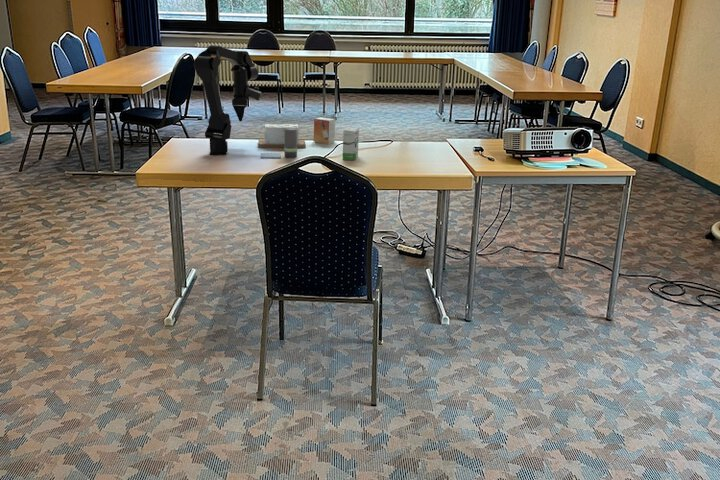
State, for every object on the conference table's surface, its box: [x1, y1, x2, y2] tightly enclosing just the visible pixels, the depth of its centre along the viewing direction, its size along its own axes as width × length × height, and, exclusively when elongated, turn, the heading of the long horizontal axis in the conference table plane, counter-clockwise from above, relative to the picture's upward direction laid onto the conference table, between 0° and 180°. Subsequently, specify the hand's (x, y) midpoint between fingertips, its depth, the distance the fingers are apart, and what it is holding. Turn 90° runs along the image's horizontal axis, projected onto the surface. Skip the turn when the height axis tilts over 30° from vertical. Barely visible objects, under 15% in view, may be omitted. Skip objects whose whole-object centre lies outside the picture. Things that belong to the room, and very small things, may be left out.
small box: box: [313, 116, 336, 145], centre depth 307 cm, size 8×6×10 cm
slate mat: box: [260, 152, 282, 159], centre depth 278 cm, size 8×7×1 cm
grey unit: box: [257, 123, 307, 149], centre depth 298 cm, size 20×10×8 cm, turn 98°
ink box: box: [342, 126, 360, 161], centre depth 278 cm, size 9×5×12 cm, turn 168°
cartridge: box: [283, 128, 298, 159], centre depth 277 cm, size 5×5×11 cm
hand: (241, 119), depth 292 cm, fingers open, 9 cm apart
